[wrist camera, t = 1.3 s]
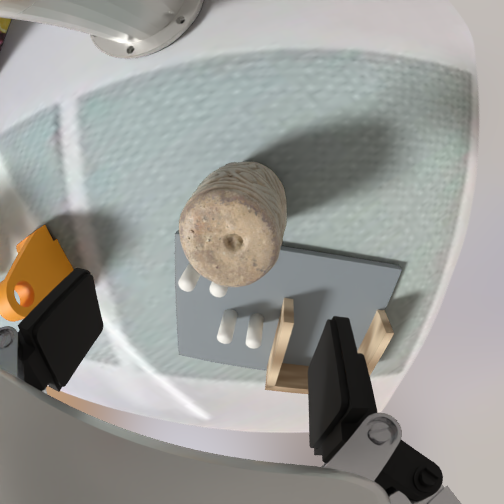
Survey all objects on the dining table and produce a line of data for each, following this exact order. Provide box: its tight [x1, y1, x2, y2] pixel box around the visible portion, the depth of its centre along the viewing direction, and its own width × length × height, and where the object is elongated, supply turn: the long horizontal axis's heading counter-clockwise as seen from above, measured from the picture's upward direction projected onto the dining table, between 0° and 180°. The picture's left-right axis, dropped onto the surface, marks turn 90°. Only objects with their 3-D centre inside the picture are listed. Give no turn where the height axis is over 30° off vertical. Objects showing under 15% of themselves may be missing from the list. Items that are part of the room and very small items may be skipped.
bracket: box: [0, 225, 74, 321], centre depth 28 cm, size 11×7×12 cm, turn 21°
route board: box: [175, 230, 402, 371], centre depth 31 cm, size 18×24×5 cm
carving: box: [179, 162, 287, 287], centre depth 21 cm, size 6×8×12 cm
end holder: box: [265, 298, 394, 394], centre depth 31 cm, size 12×12×4 cm
